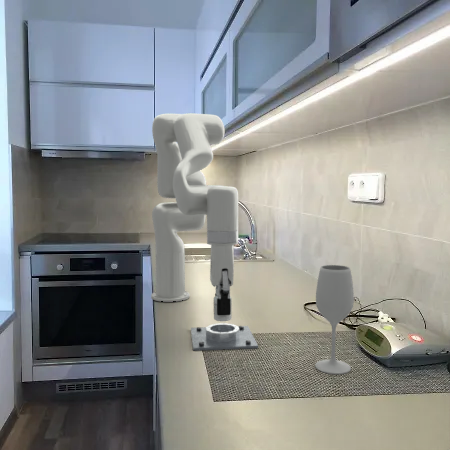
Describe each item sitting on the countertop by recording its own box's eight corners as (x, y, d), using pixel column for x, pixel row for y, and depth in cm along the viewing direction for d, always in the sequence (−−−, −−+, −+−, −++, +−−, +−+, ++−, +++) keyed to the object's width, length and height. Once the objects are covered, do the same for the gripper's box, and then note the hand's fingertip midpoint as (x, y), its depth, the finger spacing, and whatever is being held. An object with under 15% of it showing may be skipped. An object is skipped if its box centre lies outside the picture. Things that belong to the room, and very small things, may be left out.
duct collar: (205, 331, 117) (205, 323, 117) (236, 330, 118) (236, 322, 118) (207, 342, 109) (207, 334, 109) (241, 341, 110) (241, 332, 110)
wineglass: (345, 360, 100) (348, 264, 98) (356, 374, 93) (359, 271, 91) (310, 360, 100) (312, 264, 98) (319, 374, 92) (321, 271, 91)
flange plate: (190, 329, 121) (190, 325, 120) (247, 328, 122) (247, 324, 122) (193, 350, 106) (193, 346, 106) (258, 348, 107) (258, 343, 107)
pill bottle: (221, 315, 116) (221, 285, 116) (235, 318, 114) (235, 287, 113) (209, 319, 113) (209, 288, 112) (223, 322, 110) (223, 290, 110)
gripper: (204, 234, 120) (205, 303, 121) (209, 242, 103) (210, 322, 104) (233, 233, 120) (233, 302, 122) (243, 241, 104) (242, 321, 105)
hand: (222, 311), depth 113 cm, fingers closed on pill bottle, 4 cm apart
